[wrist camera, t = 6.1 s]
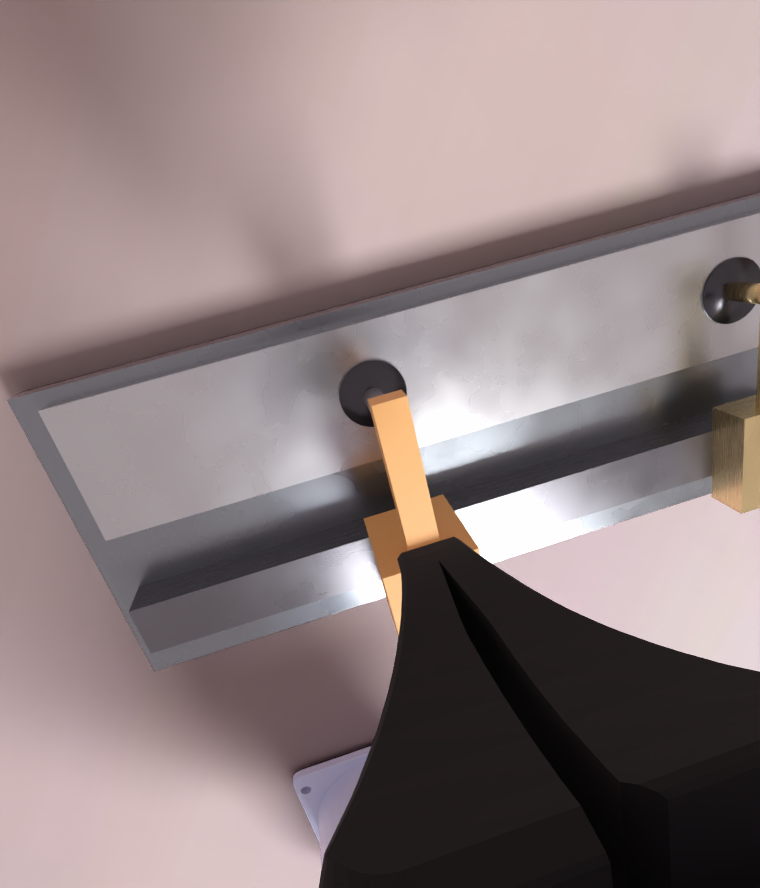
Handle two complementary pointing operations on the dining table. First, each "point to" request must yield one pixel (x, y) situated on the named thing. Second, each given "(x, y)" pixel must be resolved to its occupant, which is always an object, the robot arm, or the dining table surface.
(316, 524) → the board
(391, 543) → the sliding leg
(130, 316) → the dining table surface
